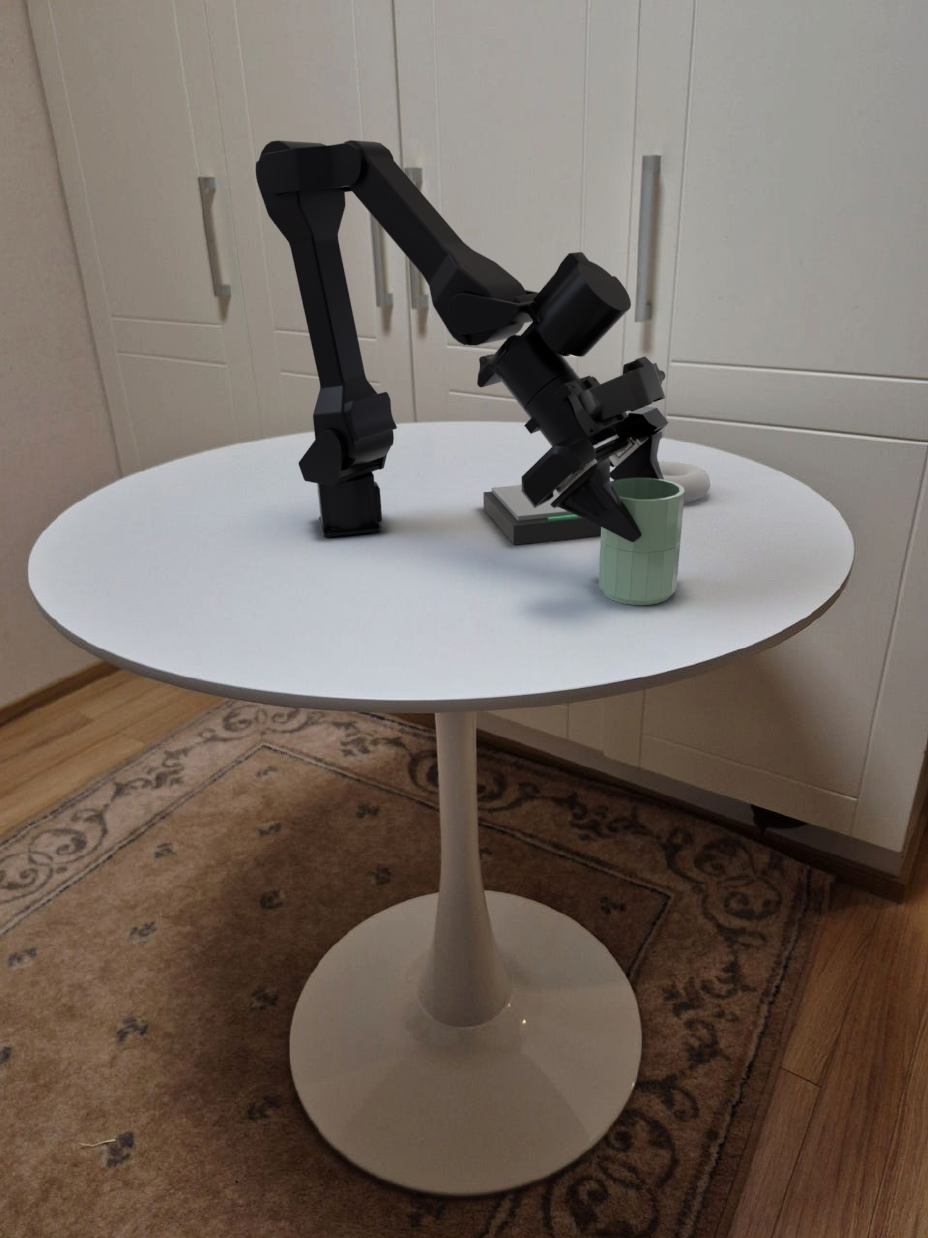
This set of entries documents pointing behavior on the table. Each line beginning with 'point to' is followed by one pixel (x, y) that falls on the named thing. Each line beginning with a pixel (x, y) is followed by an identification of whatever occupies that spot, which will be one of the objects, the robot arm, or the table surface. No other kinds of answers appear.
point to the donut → (687, 478)
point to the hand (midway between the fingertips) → (655, 527)
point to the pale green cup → (644, 543)
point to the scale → (534, 518)
